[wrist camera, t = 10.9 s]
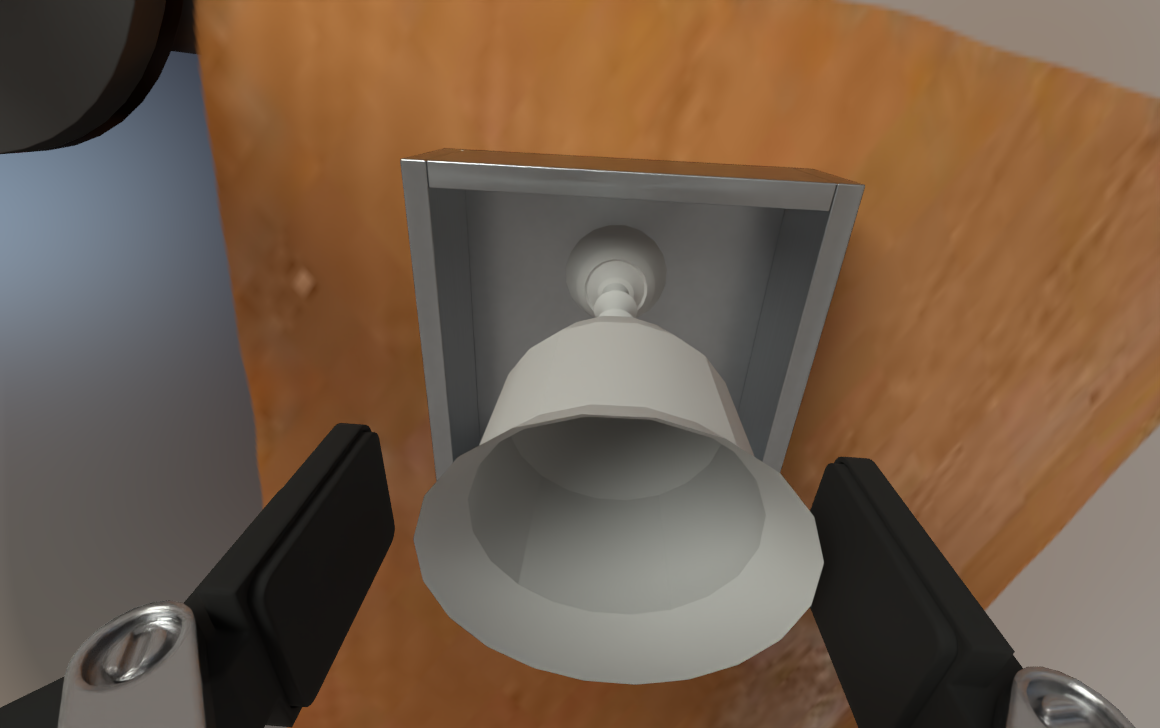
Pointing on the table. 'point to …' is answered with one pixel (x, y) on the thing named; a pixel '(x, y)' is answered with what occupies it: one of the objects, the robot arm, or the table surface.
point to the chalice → (618, 500)
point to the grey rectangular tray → (683, 234)
